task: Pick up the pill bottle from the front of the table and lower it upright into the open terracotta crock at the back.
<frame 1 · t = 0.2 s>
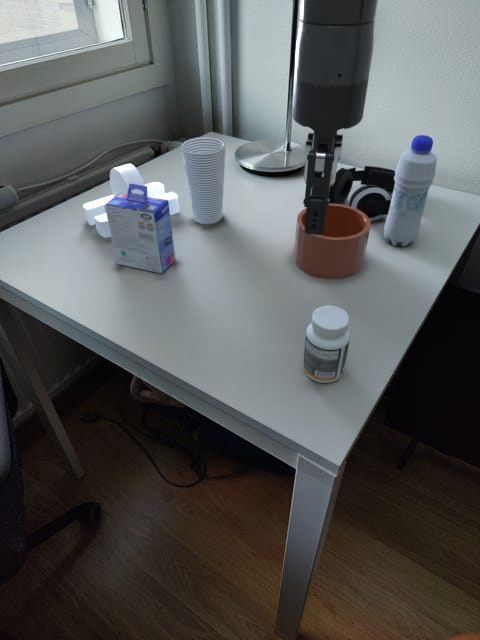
hand: (316, 215, 58), 20 cm above the table, tool pointing down, fingers open, 8 cm apart
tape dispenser: (133, 216, 99), on the table
pill bottle: (322, 370, 65), on the table
cup: (208, 218, 98), on the table
ink cartridge box: (147, 262, 86), on the table
headphones: (371, 205, 101), on the table
bottle: (398, 240, 90), on the table
crock: (328, 258, 86), on the table
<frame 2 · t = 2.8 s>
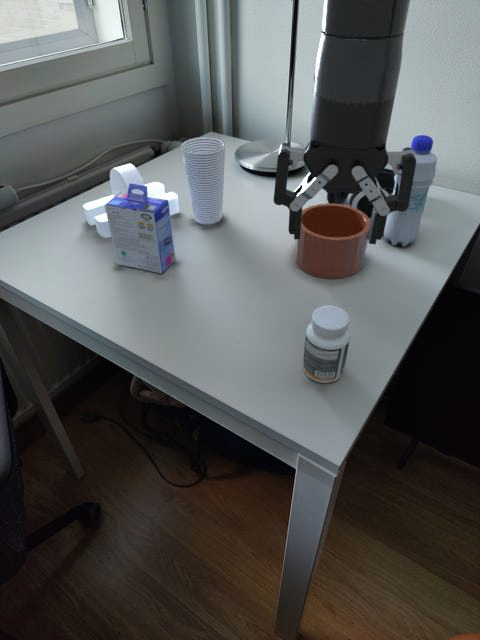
hand: (334, 238, 54), 20 cm above the table, tool pointing down, fingers open, 8 cm apart
nothing on the table moved.
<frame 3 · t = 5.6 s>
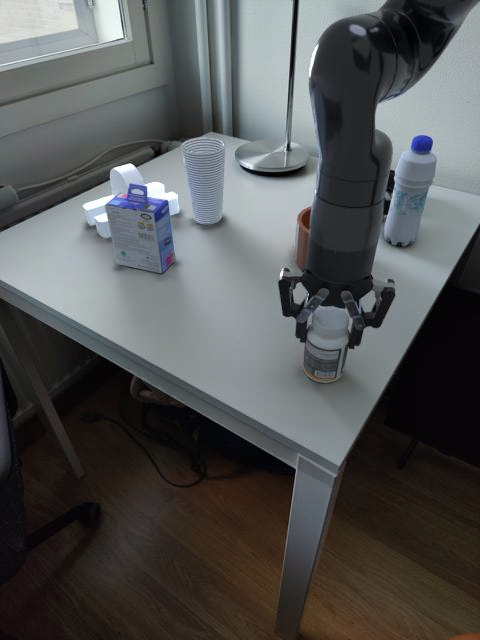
hand: (327, 341, 61), 6 cm above the table, tool pointing down, fingers closed on pill bottle, 5 cm apart
pill bottle: (322, 370, 65), on the table, touching gripper
everything else where it was.
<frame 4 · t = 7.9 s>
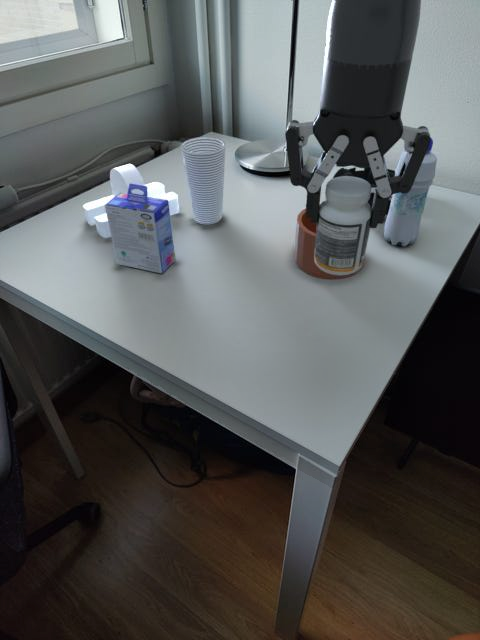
hand: (343, 221, 51), 23 cm above the table, tool pointing down, fingers closed on pill bottle, 5 cm apart
pill bottle: (337, 264, 55), point 17 cm above the table, touching gripper
everything else where it was.
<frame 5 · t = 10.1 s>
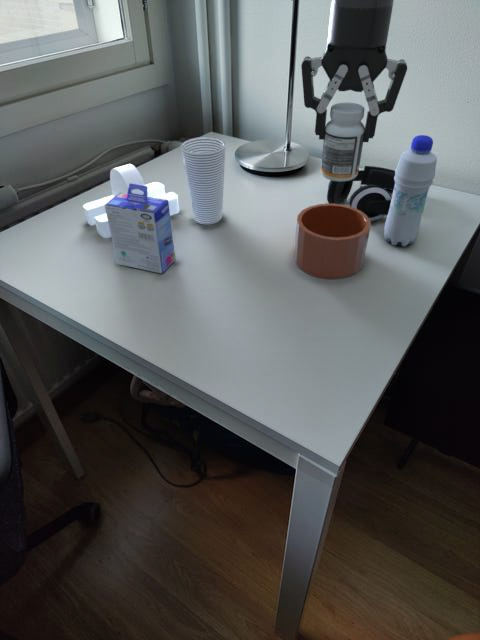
hand: (343, 138, 68), 23 cm above the table, tool pointing down, fingers closed on pill bottle, 5 cm apart
pill bottle: (338, 176, 71), point 18 cm above the table, touching gripper
everything else where it was.
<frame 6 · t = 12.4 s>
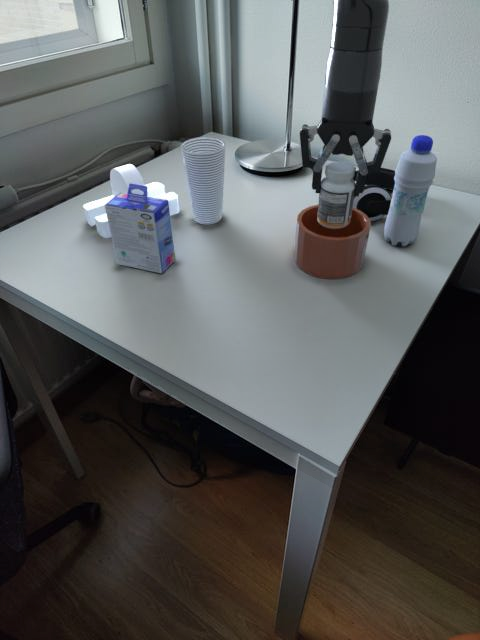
hand: (337, 192, 77), 13 cm above the table, tool pointing down, fingers closed on pill bottle, 5 cm apart
pill bottle: (333, 223, 81), point 8 cm above the table, touching gripper
everything else where it was.
when the fingers open (6 cm above the table, at t = 14.6 s): pill bottle stays where it is, resting on crock.
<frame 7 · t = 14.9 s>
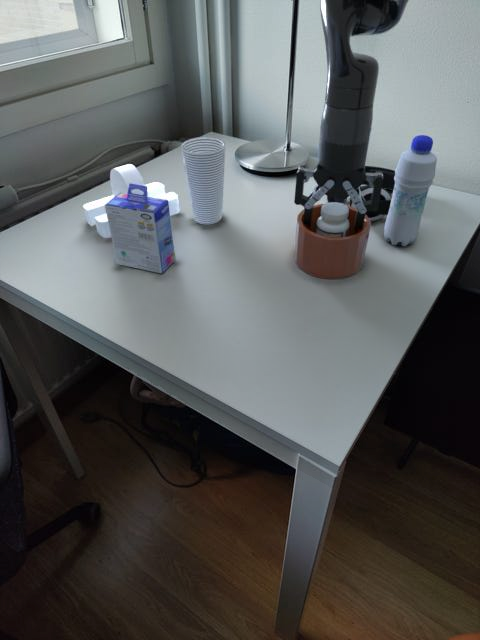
hand: (332, 227, 81), 7 cm above the table, tool pointing down, fingers open, 7 cm apart
pill bottle: (328, 257, 85), resting on crock
everything else where it was.
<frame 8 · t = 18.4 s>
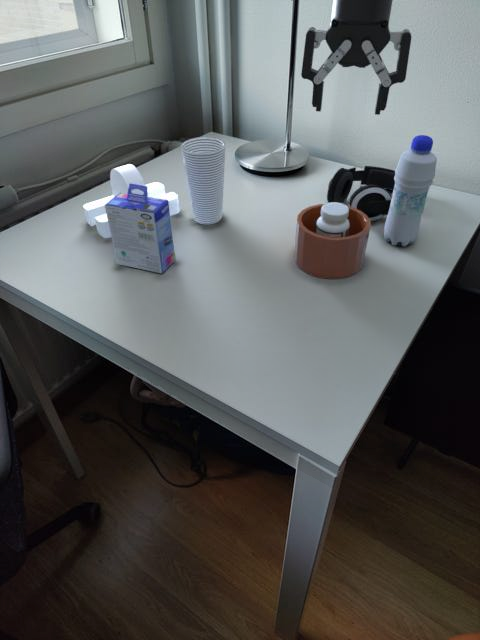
hand: (347, 111, 68), 26 cm above the table, tool pointing down, fingers open, 8 cm apart
nothing on the table moved.
at the end: pill bottle 0.1 cm off-centre in the crock, point 0.3 cm above the crock's base; pill bottle tilted 0° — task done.
